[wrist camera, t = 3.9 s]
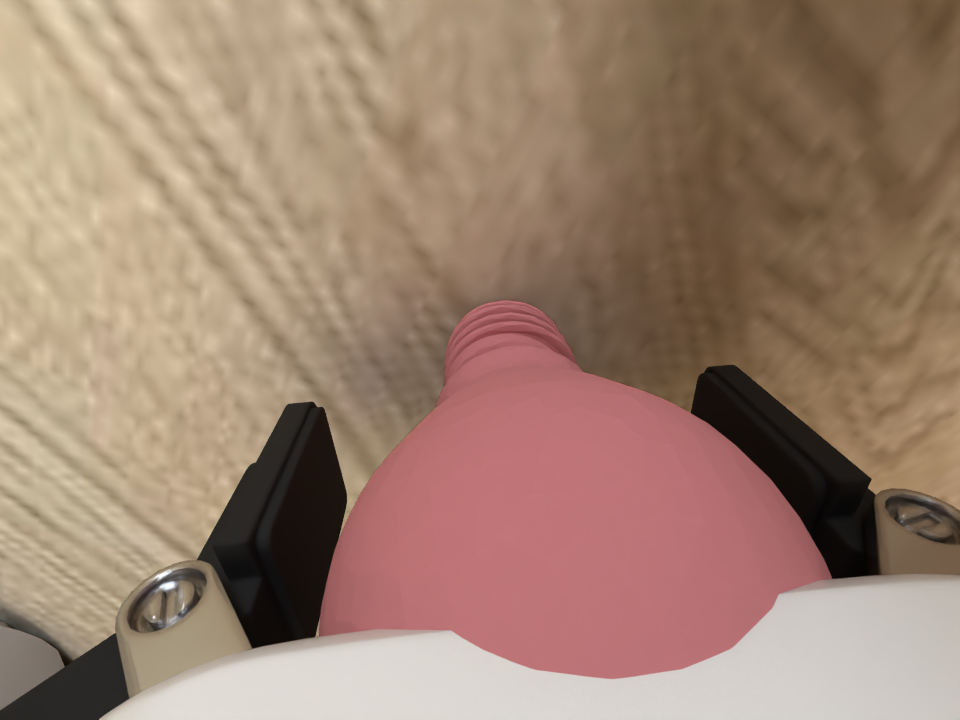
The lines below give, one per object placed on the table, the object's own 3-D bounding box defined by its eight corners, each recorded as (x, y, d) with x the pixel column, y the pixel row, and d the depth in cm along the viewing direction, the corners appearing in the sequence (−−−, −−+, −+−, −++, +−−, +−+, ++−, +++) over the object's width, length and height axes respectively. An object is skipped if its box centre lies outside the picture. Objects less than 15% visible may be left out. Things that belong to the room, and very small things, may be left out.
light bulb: (474, 472, 17) (530, 1080, 6) (337, 333, 14) (-12, 1073, 3) (647, 370, 15) (1115, 957, 5) (535, 187, 12) (1177, 694, 2)
